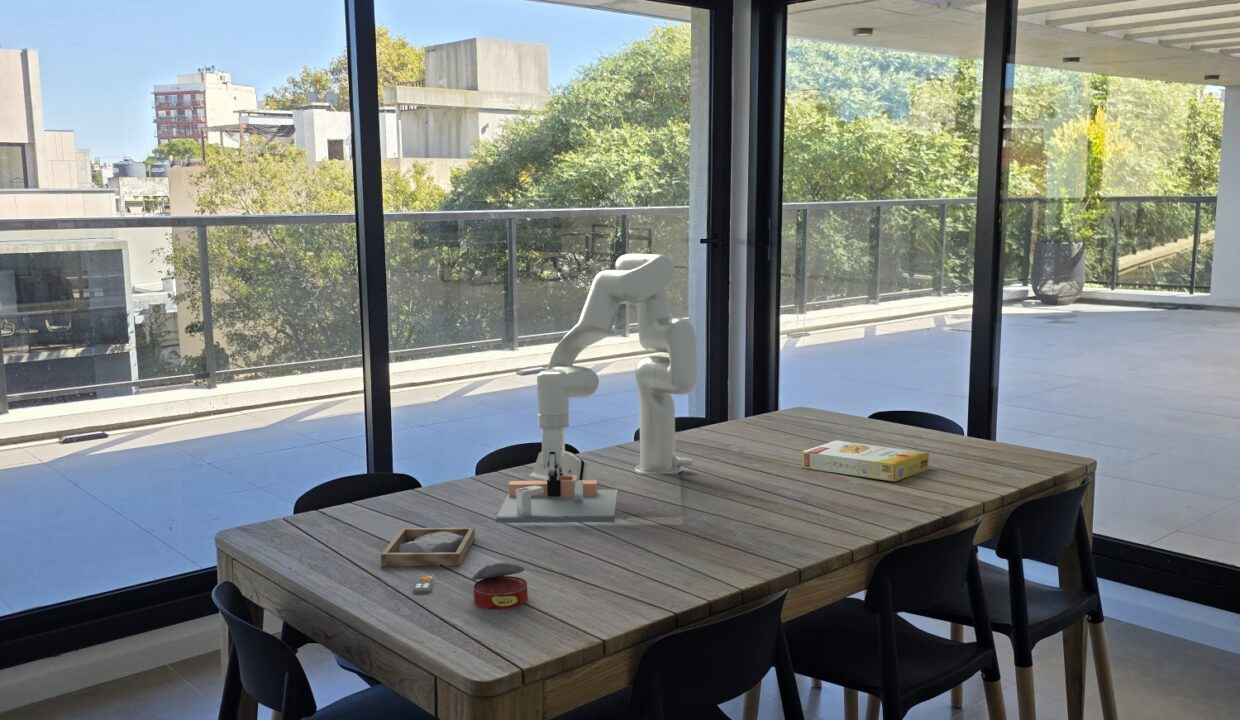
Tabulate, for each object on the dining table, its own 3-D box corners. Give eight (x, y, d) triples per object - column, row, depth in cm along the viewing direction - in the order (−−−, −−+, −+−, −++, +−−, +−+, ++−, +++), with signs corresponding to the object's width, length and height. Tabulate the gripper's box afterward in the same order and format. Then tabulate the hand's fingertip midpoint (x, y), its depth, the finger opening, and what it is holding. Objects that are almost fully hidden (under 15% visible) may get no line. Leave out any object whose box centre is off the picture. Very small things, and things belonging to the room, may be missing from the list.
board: (617, 495, 268) (617, 489, 268) (614, 521, 246) (614, 515, 245) (510, 496, 269) (510, 490, 269) (496, 522, 247) (496, 516, 246)
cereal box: (896, 463, 274) (800, 449, 292) (895, 484, 275) (799, 469, 293) (930, 450, 290) (836, 437, 308) (929, 471, 290) (836, 456, 308)
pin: (583, 506, 259) (583, 480, 258) (583, 509, 257) (582, 482, 256) (574, 506, 259) (573, 480, 258) (573, 509, 257) (573, 482, 256)
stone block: (395, 567, 223) (431, 565, 218) (391, 544, 223) (427, 541, 218) (434, 553, 233) (469, 551, 228) (430, 531, 233) (465, 528, 228)
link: (597, 490, 267) (597, 475, 267) (596, 497, 261) (595, 481, 261) (511, 491, 268) (511, 475, 268) (508, 497, 262) (507, 481, 262)
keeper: (537, 515, 252) (536, 485, 251) (544, 517, 250) (543, 487, 249) (516, 519, 249) (515, 489, 248) (523, 522, 247) (522, 491, 246)
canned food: (477, 631, 195) (450, 583, 195) (502, 606, 205) (476, 561, 204) (524, 611, 191) (497, 562, 190) (548, 586, 200) (521, 540, 199)
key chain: (432, 595, 202) (431, 588, 202) (412, 596, 202) (411, 588, 202) (439, 572, 215) (439, 565, 215) (420, 573, 215) (420, 566, 214)
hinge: (526, 481, 284) (534, 444, 285) (539, 484, 287) (547, 447, 288) (571, 492, 272) (579, 453, 273) (583, 494, 276) (592, 456, 277)
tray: (474, 538, 235) (474, 527, 235) (460, 565, 217) (459, 553, 217) (402, 539, 235) (401, 528, 235) (381, 566, 218) (380, 554, 217)
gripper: (542, 414, 271) (543, 483, 273) (534, 428, 254) (536, 502, 256) (571, 413, 271) (573, 483, 273) (566, 427, 254) (567, 501, 256)
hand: (555, 491), depth 265 cm, fingers closed on link, 6 cm apart
